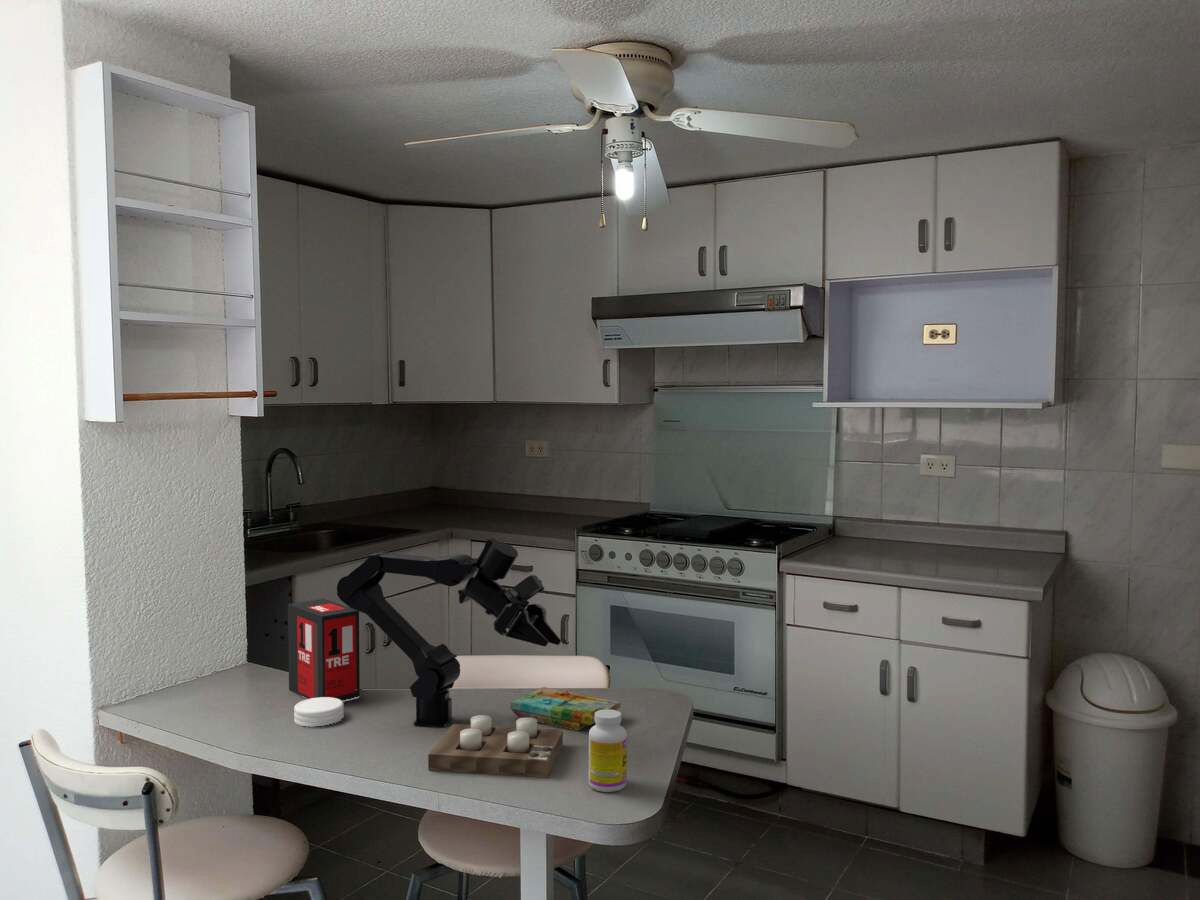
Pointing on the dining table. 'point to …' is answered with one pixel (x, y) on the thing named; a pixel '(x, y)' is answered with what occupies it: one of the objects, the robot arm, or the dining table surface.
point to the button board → (497, 753)
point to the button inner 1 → (482, 724)
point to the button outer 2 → (518, 742)
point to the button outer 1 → (470, 739)
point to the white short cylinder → (318, 711)
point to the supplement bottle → (607, 752)
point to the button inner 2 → (527, 726)
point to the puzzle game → (561, 707)
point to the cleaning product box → (323, 650)
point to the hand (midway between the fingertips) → (553, 643)
